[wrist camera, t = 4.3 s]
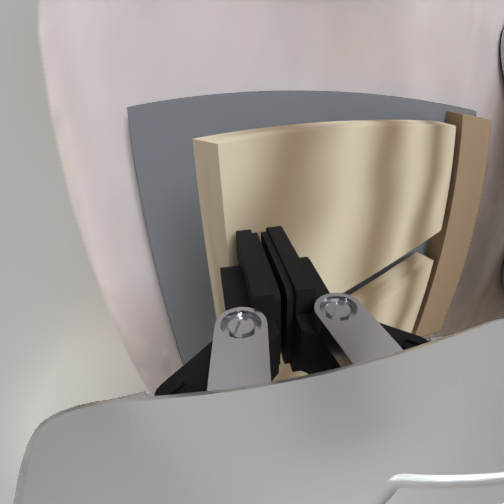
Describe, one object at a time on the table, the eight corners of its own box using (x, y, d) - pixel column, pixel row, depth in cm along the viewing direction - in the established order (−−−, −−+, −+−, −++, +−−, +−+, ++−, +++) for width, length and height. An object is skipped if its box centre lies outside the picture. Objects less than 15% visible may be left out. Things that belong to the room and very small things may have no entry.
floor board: (465, 108, 21) (491, 115, 18) (424, 315, 33) (439, 333, 30) (131, 106, 18) (119, 109, 15) (185, 359, 30) (185, 386, 27)
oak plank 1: (434, 120, 20) (456, 125, 19) (422, 222, 24) (441, 230, 23) (192, 138, 11) (217, 144, 9) (217, 325, 15) (238, 349, 14)
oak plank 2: (416, 251, 26) (433, 260, 24) (397, 324, 30) (411, 333, 29) (224, 363, 17) (243, 386, 15) (238, 433, 21) (252, 451, 20)
